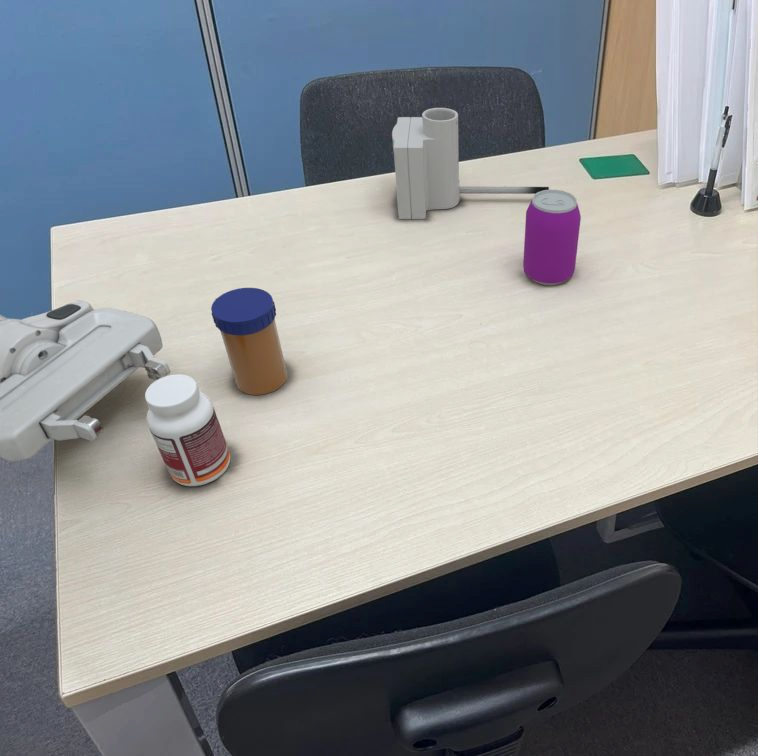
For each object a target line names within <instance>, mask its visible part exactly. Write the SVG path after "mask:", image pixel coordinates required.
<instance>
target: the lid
mask: <svg viewBox="0 0 758 756" xmlns="http://www.w3.org/2000/svg"><path fill="white" fill-rule="evenodd" d="M210 311H211V316H212V320H213V323H214V325H215V327H216V328H217V329H218V330H219V332H220V331H222V332H224V333H227V334H230V335H248V334H252V333H256V332H259V331H261V330H263V329H265V328H266V327H268V326H269V325H270V324H271V323H272V322H273V321H274V320H275V321H276V316H277V309H276V305H275V301H274V299H273V296H272V295H271V293H269V292H268V291H267V290H264V289H261V288H259V287H258V288H257V287H240V288H236V289H235V288H234V289H231V290H229V291H226V292H224V293H222V294H221V295H219V296H218V297H217V298H215V299H214V301H212V304H211V308H210Z"/></svg>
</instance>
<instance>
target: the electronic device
mask: <svg viewBox="0 0 758 756" xmlns="http://www.w3.org/2000/svg"><path fill="white" fill-rule="evenodd" d="M391 136H392V137H391V138H392V151H393V159H394V160H393V161H394V172H395V173H394V175H395V187H396V188H395V189H396V191H395V193H396V203H397V204H396V206H397V215H398V220H426V219H427V211H430V210H448V209H452V208H455V207H457V206H458V205H459V203H460V200H461V199H460V195H461V194H462V195H465V194H468V195H469V194H471V195H472V194H473V195H475V194H478V195H480V194H482V195H483V194H484V195H486V194H487V195H489V194H490V195H492V194H494V195H495V194H496V195H501V194H502V195H504V194H505V195H506V194H507V195H510V194H512V195H518V194H519V195H535V194H536V193H538V192H540V191H543V190H550V187H549V186H461V185H460V173H459V172H460V170H459V169H460V165H459V164H460V163H459V161H460V160H459V157H460V156H459V140H460V139H459V138H460V137H459V113H458V112H457V111H456V110H454V109H451V108H449V107H447V108H446V107H433V108H428V109H425V110H424V111H423V112H422V113H421V116H411V117H410V116H398V117H397V121H396V123H395V125H394V127H393V128H392V131H391Z"/></svg>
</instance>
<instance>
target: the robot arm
mask: <svg viewBox="0 0 758 756" xmlns="http://www.w3.org/2000/svg"><path fill="white" fill-rule="evenodd" d="M163 346H164V345H163V339H162V336H161V333H160V331H159V328H158V326H157V324H156V323H155V321H154V320H152V319H151V318H150V317H147V316H144V315H141V314H137V313H134V312H130V311H126V310H122V309H117V308H111V307H101V308H96V309H94V308H93V306H92V304H91V303H90V302H89V301H86V300H81V299H80V300H74V301H71V302H69V303H67V304H64V305H62V306H60V307H56V308H55V309H51V310H49V311H46V312H43V313H40V314H39V313H38V314H36V315H32V316H28V317H25V318H22V319H21V318H11V317H10V318H9V317H6V316H5V315H2V314H1V313H0V458H2V459H4V460H6V461H9V462H10V463H11V462H12V463H18V462H24V461H28V460H30V459H31V458H32V457H33V456H35V455H36V454H38V452H40V451H41V450H42V449H43V448H44V447H46V445H48V444H49V443H51V442H52V441H53V440H55V441H58V442H60V441H67V440H68V441H69V440H74V439H75V440H76V439H80V438H81V439H84V440H87V441H90V442H94V441H95V439H97V438H98V437H99V436H100V435H101V434H102V433H103V432H104V431H105V429H104V427H103V426H102V423H101V421H100V420H99V419H97V418H95V417H91V416H89V415H86V412H87V411H88V410H90V409H91V408H92V407H94V406H95V405H96V404H97V403H98V402H100V401H101V400H103V398H104V397H105V396H107V395H108V394H109V393H111V392H112V391H113V390H114V389H115V388H117V387H118V386H119V385H120V384H121V383H122V382H123V381H125V380H126V379H127V378H128V377H129V376H130V375H132V374H133V373H134V372H136V371H137V370H138V369H139V368H141V369H144V370H145V371H147V372H146V375H147V377H148V379H151V380H155V381H156V380H158V379H160V378H162V377H165V376H169V375H171V369H170V366H169V364H168V362H166V361H165V360H162V359H159V358H156V357H155V355H157V354H158V352H160V351H161V350H162V349H163Z"/></svg>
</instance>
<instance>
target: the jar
mask: <svg viewBox="0 0 758 756" xmlns="http://www.w3.org/2000/svg"><path fill="white" fill-rule="evenodd" d="M219 332H220V335H221V338H222V341H223V345H224V348H225V351H226V355H227V358H228V361H229V364H230V368H231V371H232V375H233V378H234V382H235V384H236V388H237V389H238V390H239V391H240V392H242V393H243V394H245V395H246V394H247V395H251V396H263V395H267V394H271V393H273V392H276V391H277V390H279V389H280V388H281V387H282V386H283V385H284V384H285V383H286V381H287V379H288V371H287V368H286V363H285V358H284V353H283V349H282V345H281V340H280V337H279V331H278V328H277V323H276V319H275V320H274V321H273V322H272V323H271V324H270V325H269V326H268V327H266V328H265V329H263V330H261V331H259V332H256V333H252V334H248V335H230V334H227V333H224V332H222V331H220V330H219Z"/></svg>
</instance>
